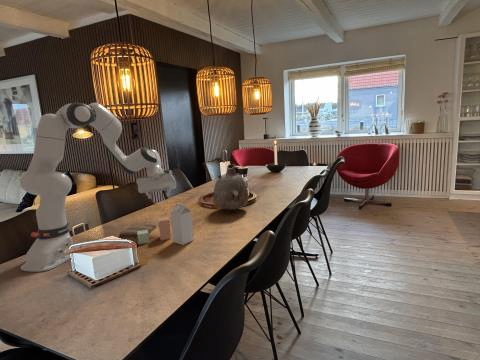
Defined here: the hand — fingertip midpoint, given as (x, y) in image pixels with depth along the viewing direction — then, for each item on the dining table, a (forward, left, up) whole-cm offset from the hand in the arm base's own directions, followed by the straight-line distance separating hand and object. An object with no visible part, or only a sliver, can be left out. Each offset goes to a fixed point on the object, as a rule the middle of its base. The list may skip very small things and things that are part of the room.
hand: (159, 196), depth 166 cm
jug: (+34, -32, -18) cm, 50 cm away
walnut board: (-4, +12, -18) cm, 22 cm away
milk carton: (-15, -17, -18) cm, 29 cm away
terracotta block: (-11, -6, -18) cm, 22 cm away
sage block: (-16, +3, -18) cm, 25 cm away
